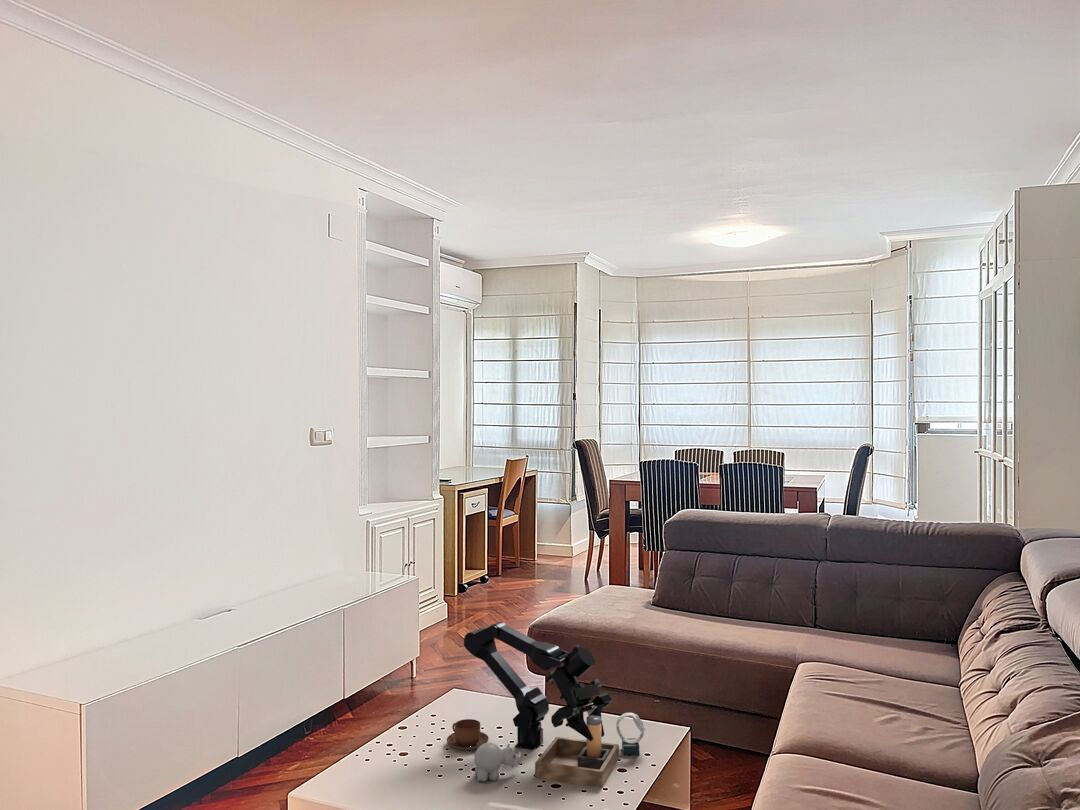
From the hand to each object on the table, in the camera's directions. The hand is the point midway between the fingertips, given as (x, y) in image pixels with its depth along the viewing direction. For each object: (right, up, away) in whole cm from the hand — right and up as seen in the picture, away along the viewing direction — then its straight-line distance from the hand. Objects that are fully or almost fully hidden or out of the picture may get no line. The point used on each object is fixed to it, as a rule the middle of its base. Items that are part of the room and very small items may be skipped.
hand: (597, 738), depth 224 cm
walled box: (-5, -8, -1) cm, 10 cm away
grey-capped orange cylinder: (-1, -6, +1) cm, 6 cm away
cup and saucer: (-36, -9, +17) cm, 41 cm away
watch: (+10, -8, +9) cm, 16 cm away
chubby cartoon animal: (-26, -8, -5) cm, 28 cm away
